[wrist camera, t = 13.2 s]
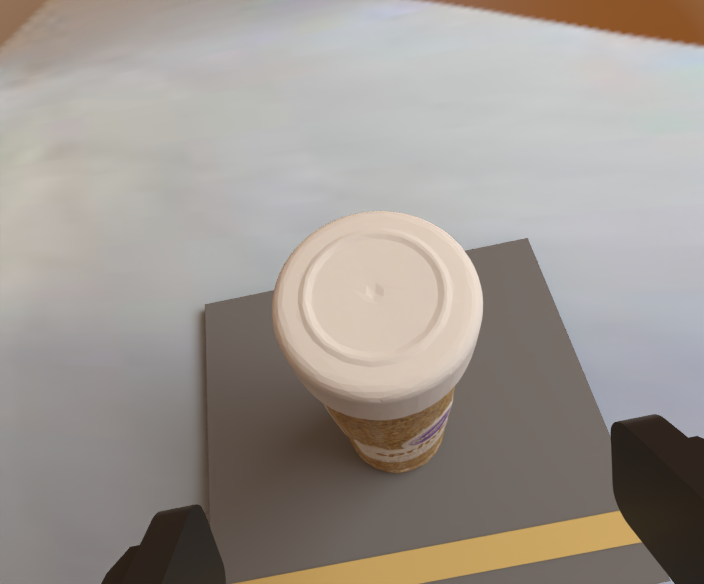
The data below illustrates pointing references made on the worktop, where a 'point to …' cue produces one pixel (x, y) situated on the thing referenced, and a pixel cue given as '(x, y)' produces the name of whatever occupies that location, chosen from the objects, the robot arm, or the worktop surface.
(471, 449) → the line mat
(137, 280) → the worktop surface
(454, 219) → the worktop surface
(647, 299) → the worktop surface
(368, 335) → the sprinkles bottle
